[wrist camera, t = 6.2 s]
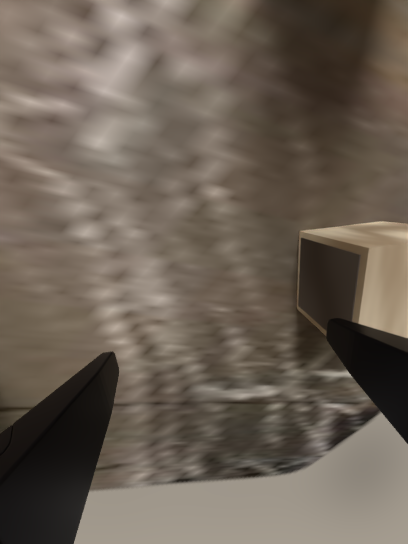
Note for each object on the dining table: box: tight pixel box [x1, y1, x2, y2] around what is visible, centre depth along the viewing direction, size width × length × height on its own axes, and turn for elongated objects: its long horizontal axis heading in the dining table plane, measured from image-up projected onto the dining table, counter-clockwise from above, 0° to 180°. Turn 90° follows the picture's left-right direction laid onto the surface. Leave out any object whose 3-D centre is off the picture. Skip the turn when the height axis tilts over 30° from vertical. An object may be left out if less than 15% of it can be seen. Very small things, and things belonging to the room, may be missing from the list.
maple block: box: [297, 221, 408, 338], centre depth 13 cm, size 6×6×6 cm
